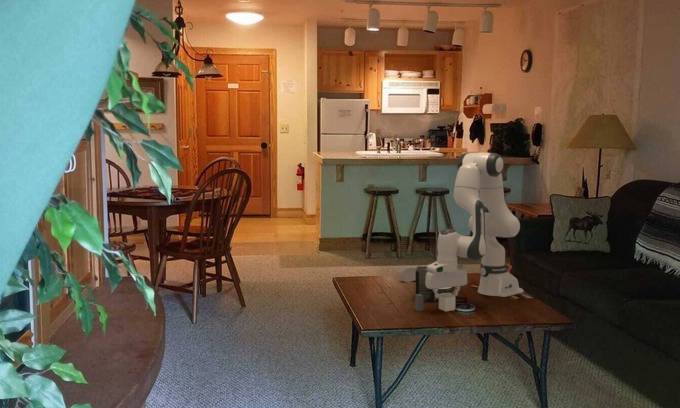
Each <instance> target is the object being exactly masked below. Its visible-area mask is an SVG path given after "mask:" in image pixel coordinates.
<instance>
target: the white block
mask: <svg viewBox="0 0 680 408" xmlns="http://www.w3.org/2000/svg"><path fill="white" fill-rule="evenodd" d="M439 294H440V298H438V309H439V310H441V311H444V312H450V311H451V312H452V311H455V310H456V296H455V295H453V293H450V292H445V293H439Z"/></svg>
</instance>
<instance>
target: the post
mask: <svg viewBox="0 0 680 408" xmlns="http://www.w3.org/2000/svg"><path fill="white" fill-rule="evenodd" d="M414 310H415V311H416V312H423V311H424V301H423V295H421V294H416V293H415V294H414Z"/></svg>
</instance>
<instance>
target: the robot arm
mask: <svg viewBox="0 0 680 408" xmlns="http://www.w3.org/2000/svg"><path fill="white" fill-rule="evenodd" d="M504 164H505V163H504V159H503V157H502V156H501V155H500V154H498V153H495V152H485V151H484V152H482V151H481V152H464V153H461V154H460V155H459V157H458V158H457V161H456V168H457V173H456V178H455V180H454V181H455V182H454V188H453V189H454V190H453V200H454V202H455V203H456V205H457V206H458V207H460V208H461V209H463V210H465V211H466V212H468V213H469V214H470V215H471V216H470V218H469V220H468V228H469V229H470V231H471V232H472V235H470V236H468V235H462V234H460V233H458V232H457V230H456V229H453V228H445V229H442V230H440V231H439V233H438V237H437V246H436V247H437V248H436V249H437V250H436V251H437V257H436V261H434V262H432V263H430V264H427V265H426V266H427V270H429V271H428V272H427V273H426V279H425V285H426V287H427V288H429V289H433V291H434V293H435V298H436V299H439V298H440V294H441V293H438V291H439V289H444V288H452V287H454V291H452V294H453V295H455V297H457V296H458V294H459V291H460V289H461V287H463V286H466V285H467V284H468V273H467V271H468V270H467V266H466V265H465V264H458V257H460V258H464V259H469V260H474V261H479V260H481V263H480V269H479V270H480V278H479V279H480V280H479V285H478V288H477V293H478V294H481V295H485V296H490V297H502V298H505V297H510V296H513V295H519V294H523V293H524V289H523V288H521V287H520V286H519V280H518V279H517V277H515V276H514V275H513V274H511V273H510V272H509V271H508V270H512V268H513V267H512V265H511V264H505V263H506V249H505V247H504V245H502V244H500V242H498V240H497V238H496V237H498V238H513V237H515V236H517V235H518V233H519V232H520V229H521V223H520V220H519V219H518V217H517V216H515V215H514V214H513V213H512V212H511V211H510V209H509V207H508V206H507V203H506V199H505V194H504V182H503V175H502V172H503V170H504ZM485 208H486V209H487V210H488V211H489V212H485Z"/></svg>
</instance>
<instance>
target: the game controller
mask: <svg viewBox="0 0 680 408" xmlns="http://www.w3.org/2000/svg"><path fill="white" fill-rule="evenodd" d="M417 266H418V265H417ZM417 266H413V265H412V266H409V265H408V266H404V267H403V268H402V269H401V270H400V273H399V276H400V279H401V280H402V281H403V282H405V283H412V282H413V281H416V269H417ZM422 266H423V267H424V266H426V267H427V266H428V265H422Z"/></svg>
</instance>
